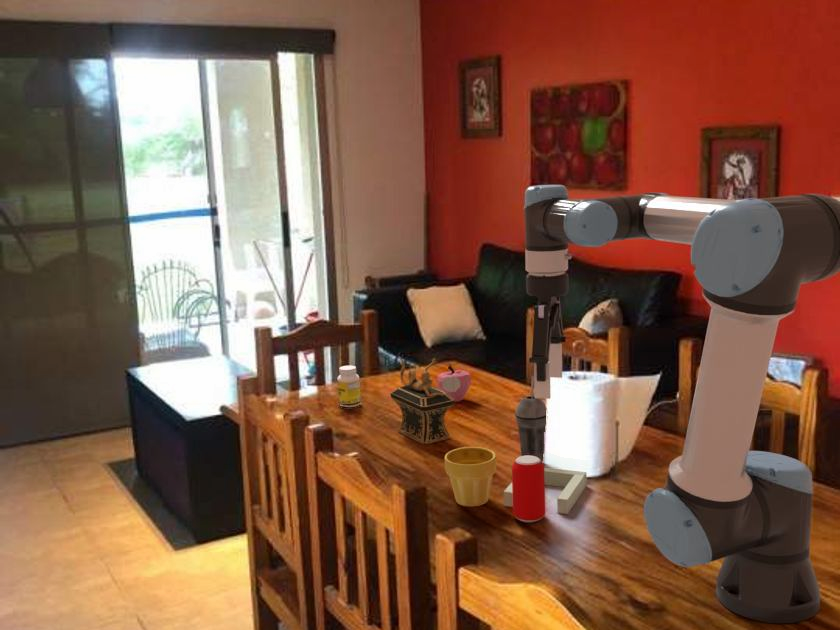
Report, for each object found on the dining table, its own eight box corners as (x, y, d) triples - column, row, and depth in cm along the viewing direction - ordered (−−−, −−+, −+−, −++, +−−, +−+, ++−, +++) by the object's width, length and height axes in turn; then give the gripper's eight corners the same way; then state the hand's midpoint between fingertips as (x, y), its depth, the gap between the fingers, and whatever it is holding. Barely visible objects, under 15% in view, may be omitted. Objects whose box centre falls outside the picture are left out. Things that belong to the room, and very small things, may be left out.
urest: (567, 514, 174) (567, 499, 174) (504, 505, 180) (503, 491, 179) (586, 485, 188) (586, 472, 187) (526, 478, 193) (526, 465, 192)
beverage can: (524, 509, 178) (522, 451, 175) (551, 516, 174) (550, 457, 171) (507, 520, 173) (505, 461, 171) (534, 527, 169) (533, 467, 167)
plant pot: (455, 514, 177) (453, 467, 175) (440, 495, 187) (438, 450, 185) (504, 506, 179) (503, 460, 178) (487, 487, 189) (485, 443, 187)
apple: (434, 404, 249) (432, 369, 247) (442, 395, 257) (441, 362, 255) (468, 406, 246) (466, 370, 244) (475, 397, 254) (474, 363, 252)
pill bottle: (335, 404, 254) (333, 366, 251) (356, 401, 256) (353, 363, 254) (343, 410, 248) (340, 371, 246) (364, 406, 251) (361, 368, 248)
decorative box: (458, 439, 220) (455, 361, 216) (425, 448, 215) (421, 368, 211) (416, 419, 237) (413, 347, 233) (384, 427, 232) (380, 353, 228)
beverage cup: (511, 467, 200) (509, 380, 196) (523, 456, 206) (521, 372, 203) (542, 471, 197) (540, 383, 193) (553, 460, 203) (551, 374, 199)
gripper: (557, 284, 147) (558, 408, 152) (577, 261, 171) (578, 369, 175) (512, 284, 150) (515, 406, 154) (538, 261, 173) (540, 368, 177)
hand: (548, 387), depth 164 cm, fingers open, 13 cm apart
